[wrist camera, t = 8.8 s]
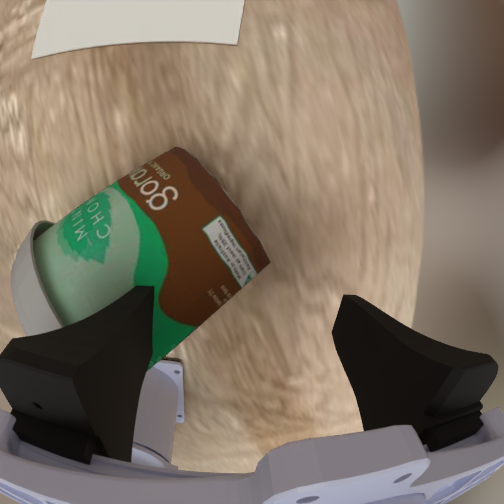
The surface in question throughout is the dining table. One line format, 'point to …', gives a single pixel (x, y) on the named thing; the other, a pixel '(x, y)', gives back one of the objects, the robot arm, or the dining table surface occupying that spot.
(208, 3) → the mat
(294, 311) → the dining table surface
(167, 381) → the robot arm
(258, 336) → the dining table surface
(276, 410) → the dining table surface
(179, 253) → the food container
